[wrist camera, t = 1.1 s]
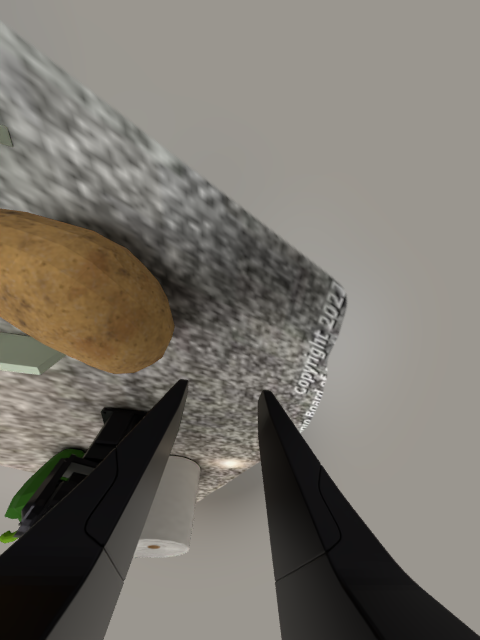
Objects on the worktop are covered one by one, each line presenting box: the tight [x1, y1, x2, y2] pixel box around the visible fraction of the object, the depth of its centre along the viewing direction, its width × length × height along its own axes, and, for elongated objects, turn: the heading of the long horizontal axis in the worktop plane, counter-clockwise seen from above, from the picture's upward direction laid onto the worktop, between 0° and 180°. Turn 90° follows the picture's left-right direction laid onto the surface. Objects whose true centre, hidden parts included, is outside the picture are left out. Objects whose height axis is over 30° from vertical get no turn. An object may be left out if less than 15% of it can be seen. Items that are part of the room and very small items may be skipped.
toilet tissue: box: [133, 456, 200, 558], centre depth 31 cm, size 11×12×10 cm
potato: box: [0, 209, 175, 374], centre depth 14 cm, size 10×14×8 cm
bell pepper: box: [0, 449, 85, 543], centre depth 28 cm, size 8×8×10 cm
